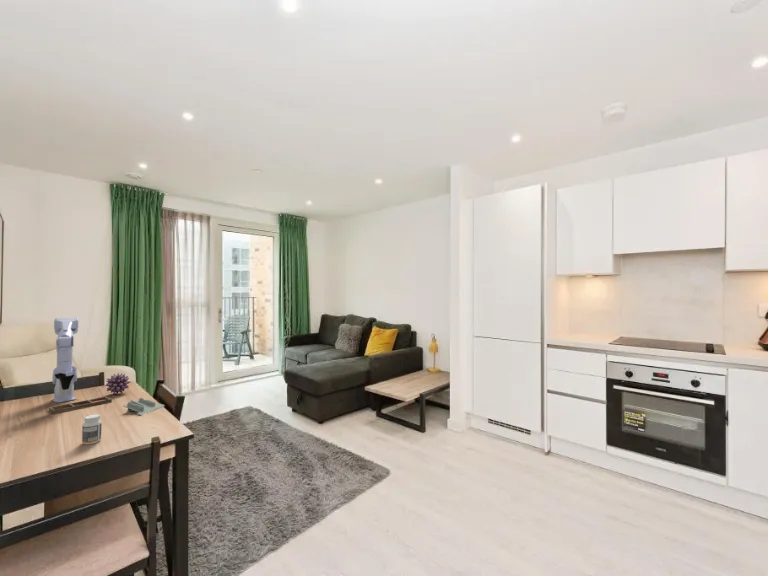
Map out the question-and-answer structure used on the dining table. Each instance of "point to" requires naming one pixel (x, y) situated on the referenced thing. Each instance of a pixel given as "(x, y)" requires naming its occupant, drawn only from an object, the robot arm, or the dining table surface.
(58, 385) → the square peg
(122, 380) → the spiky ball
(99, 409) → the dining table surface
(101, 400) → the rail
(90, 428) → the pill bottle
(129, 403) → the metal bracket
